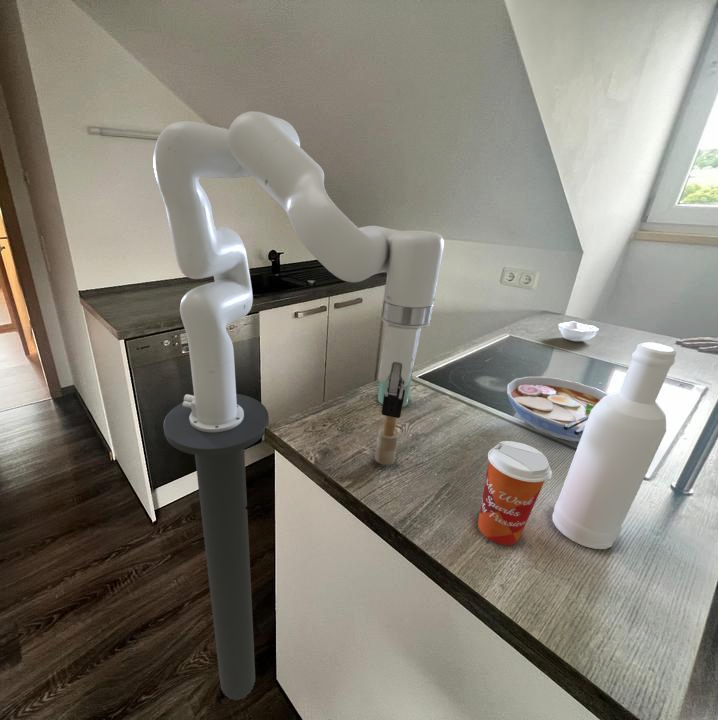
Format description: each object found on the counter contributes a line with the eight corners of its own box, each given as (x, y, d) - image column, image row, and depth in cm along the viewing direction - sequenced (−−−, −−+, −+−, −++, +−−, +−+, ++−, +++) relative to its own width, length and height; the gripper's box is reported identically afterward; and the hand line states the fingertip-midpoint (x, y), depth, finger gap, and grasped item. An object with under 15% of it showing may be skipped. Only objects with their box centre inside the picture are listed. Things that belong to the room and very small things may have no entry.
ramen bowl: (537, 394, 99) (546, 364, 95) (648, 440, 80) (663, 406, 77) (473, 419, 87) (481, 387, 84) (585, 480, 69) (600, 442, 66)
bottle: (617, 560, 54) (712, 365, 42) (551, 535, 58) (621, 350, 46) (610, 522, 60) (691, 343, 48) (551, 502, 64) (612, 331, 52)
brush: (373, 462, 72) (383, 386, 66) (376, 451, 75) (386, 378, 69) (393, 467, 71) (405, 390, 65) (395, 455, 74) (407, 381, 68)
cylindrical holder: (375, 404, 93) (381, 351, 88) (380, 391, 100) (386, 340, 94) (406, 410, 91) (414, 355, 85) (409, 396, 97) (417, 344, 92)
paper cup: (462, 530, 59) (481, 455, 53) (481, 503, 64) (500, 432, 58) (518, 562, 54) (546, 483, 48) (534, 530, 59) (561, 455, 53)
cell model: (602, 345, 130) (609, 326, 128) (566, 345, 131) (572, 325, 128) (582, 335, 140) (588, 317, 137) (548, 334, 140) (553, 316, 137)
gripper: (389, 298, 69) (377, 388, 77) (374, 324, 56) (362, 431, 63) (433, 303, 67) (416, 395, 75) (429, 331, 53) (409, 441, 61)
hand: (391, 411), depth 69 cm, fingers closed on brush, 2 cm apart
